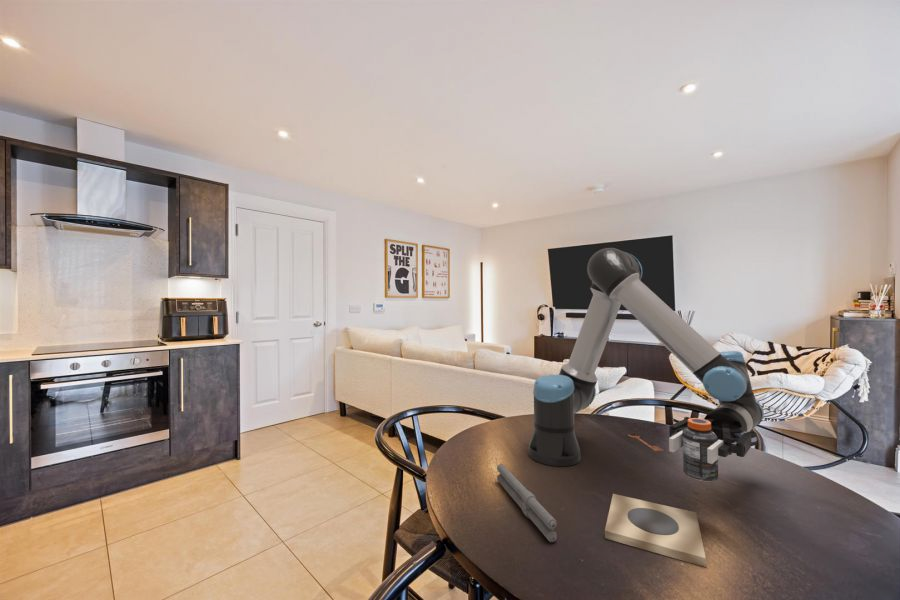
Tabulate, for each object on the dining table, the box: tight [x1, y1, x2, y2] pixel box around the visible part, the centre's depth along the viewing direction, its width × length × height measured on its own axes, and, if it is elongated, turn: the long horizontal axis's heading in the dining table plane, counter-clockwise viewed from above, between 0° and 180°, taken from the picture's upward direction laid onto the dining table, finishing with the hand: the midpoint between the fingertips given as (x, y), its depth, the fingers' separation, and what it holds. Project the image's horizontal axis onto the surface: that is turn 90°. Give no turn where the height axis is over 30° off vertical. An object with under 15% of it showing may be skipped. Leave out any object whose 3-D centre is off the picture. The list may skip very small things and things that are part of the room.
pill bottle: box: [682, 417, 719, 483], centre depth 74 cm, size 6×6×11 cm
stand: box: [604, 493, 707, 568], centre depth 73 cm, size 16×16×2 cm
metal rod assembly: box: [496, 463, 558, 543], centre depth 81 cm, size 26×3×5 cm, turn 15°
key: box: [627, 433, 664, 452], centre depth 120 cm, size 6×1×15 cm
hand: (689, 450), depth 71 cm, fingers closed on pill bottle, 6 cm apart
